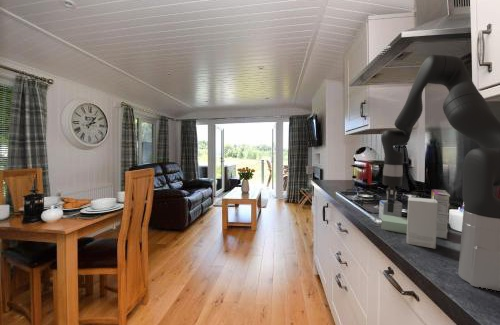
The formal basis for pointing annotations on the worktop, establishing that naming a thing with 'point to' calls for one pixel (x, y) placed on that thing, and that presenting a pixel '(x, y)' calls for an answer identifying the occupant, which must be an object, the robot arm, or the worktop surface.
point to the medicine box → (384, 209)
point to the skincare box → (422, 222)
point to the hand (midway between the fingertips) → (390, 209)
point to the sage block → (394, 223)
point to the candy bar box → (442, 212)
